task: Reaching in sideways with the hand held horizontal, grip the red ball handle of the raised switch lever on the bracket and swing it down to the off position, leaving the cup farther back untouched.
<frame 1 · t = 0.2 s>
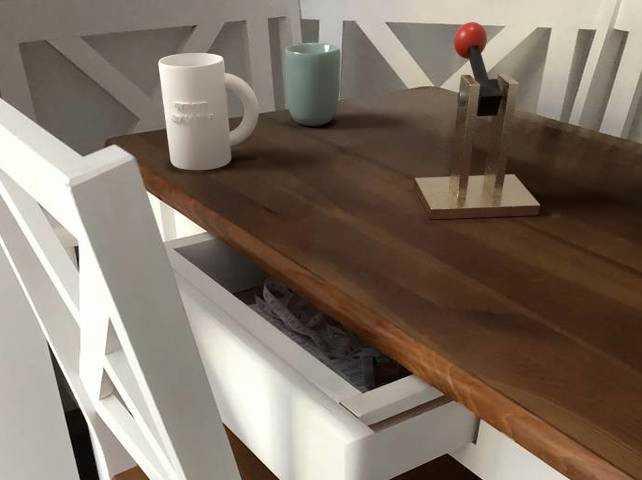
bracket: (473, 201, 84), on the table
mug: (216, 161, 97), on the table
cup: (313, 124, 110), on the table
switch: (478, 67, 80), point 13 cm above the table, hinge at 22.0°
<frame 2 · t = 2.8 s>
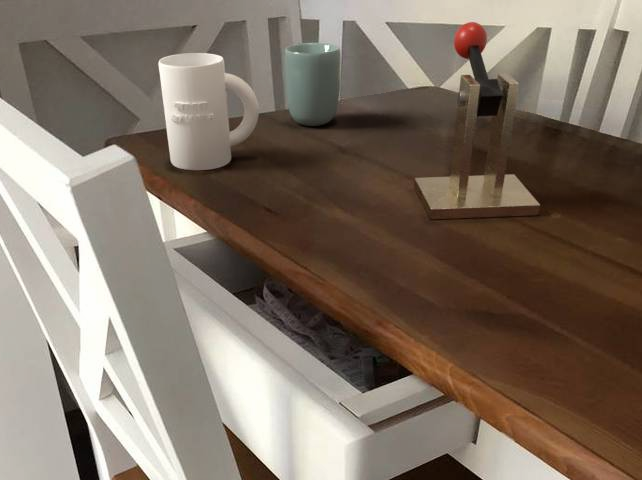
nothing on the table moved.
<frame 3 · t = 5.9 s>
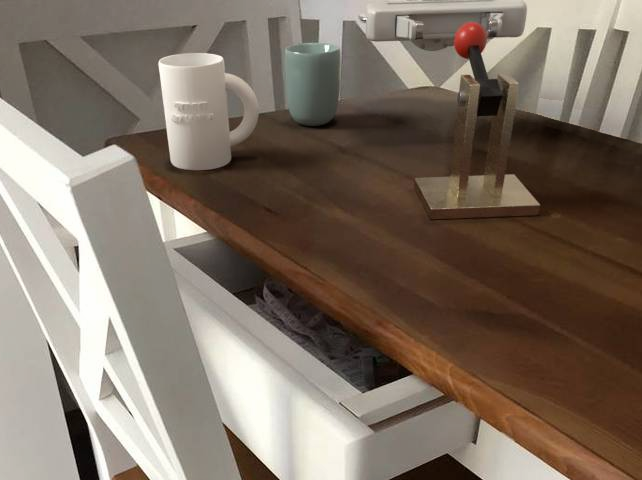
hand: (456, 30, 88), 15 cm above the table, tool horizontal, fingers open, 8 cm apart
nothing on the table moved.
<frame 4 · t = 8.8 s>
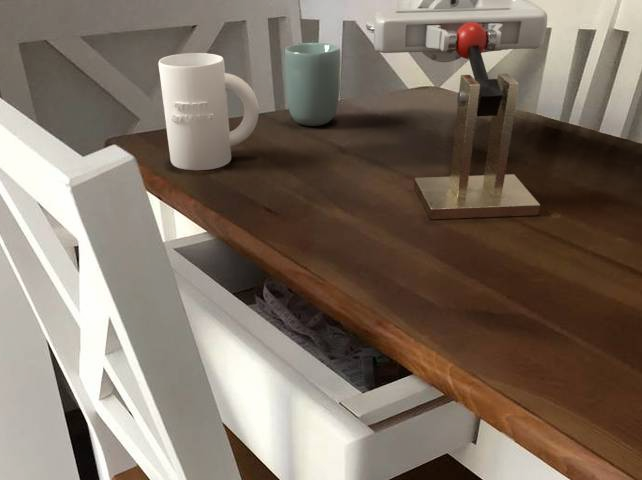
hand: (472, 42, 81), 15 cm above the table, tool horizontal, fingers closed on switch, 3 cm apart
switch: (478, 67, 80), point 13 cm above the table, hinge at 22.0°, touching gripper
everything else where it was.
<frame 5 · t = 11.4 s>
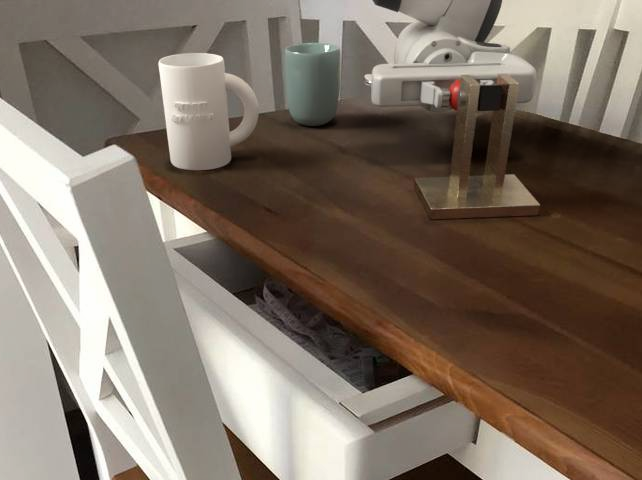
hand: (465, 99, 86), 9 cm above the table, tool horizontal, fingers closed on switch, 3 cm apart
switch: (473, 96, 82), point 10 cm above the table, hinge at -11.7°, touching gripper
everything else where it was.
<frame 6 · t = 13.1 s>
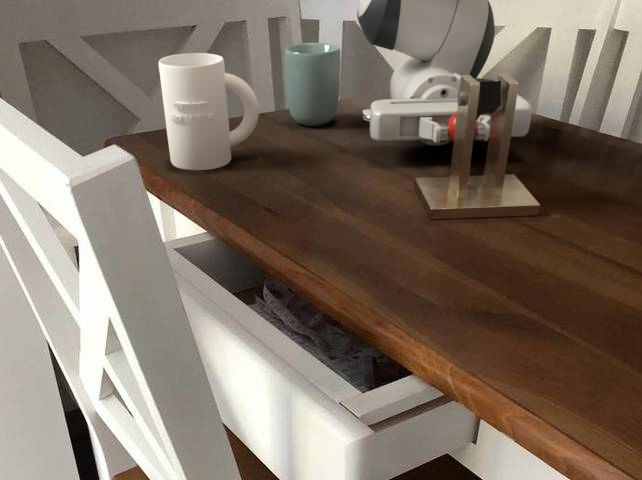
hand: (463, 134, 87), 5 cm above the table, tool horizontal, fingers closed on switch, 3 cm apart
switch: (473, 113, 82), point 8 cm above the table, hinge at -31.6°, touching gripper
everything else where it was.
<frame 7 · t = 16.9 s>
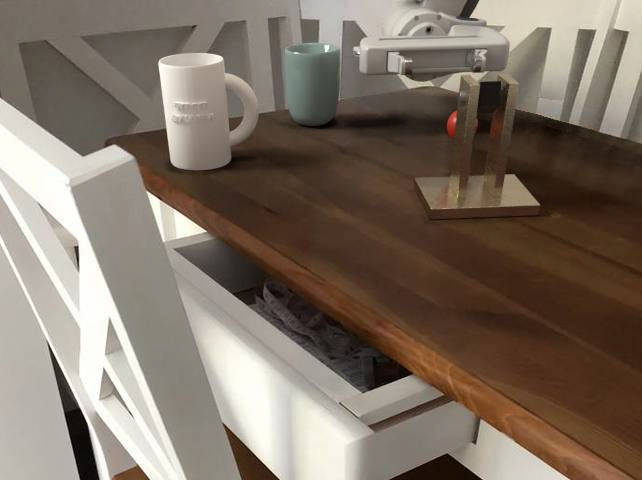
hand: (443, 67, 94), 10 cm above the table, tool horizontal, fingers open, 8 cm apart
switch: (473, 112, 82), point 8 cm above the table, hinge at -30.5°
everything else where it was.
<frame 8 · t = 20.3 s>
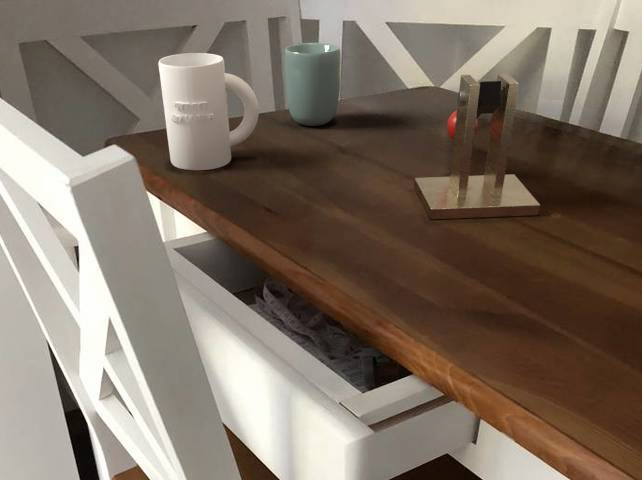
nothing on the table moved.
at the end: switch at -30° (first picture: +22°); cup moved 0.2 cm from its start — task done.
